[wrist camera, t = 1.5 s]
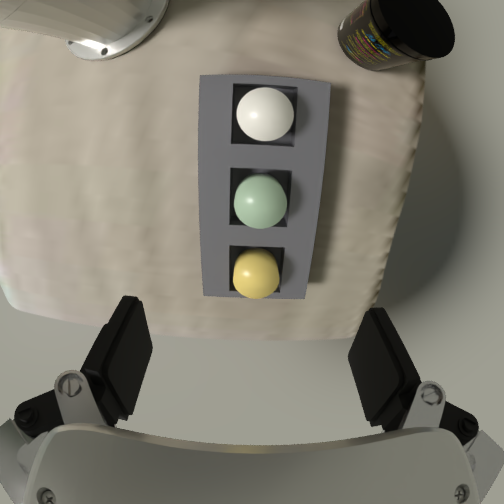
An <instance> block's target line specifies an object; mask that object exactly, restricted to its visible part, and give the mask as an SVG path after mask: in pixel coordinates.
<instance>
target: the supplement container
mask: <svg viewBox="0 0 504 504" xmlns="http://www.w3.org/2000/svg"><path fill="white" fill-rule="evenodd" d="M338 41H339V44H340V46H341V48H342V50H343V52H344V53H345V55H346V56H347V57H348V58H349V59H350V60H351V61H353V62H354V63H355V64H357V65H359V66H361V67H363V68H365V69H368V70H374V71H380V70H384V69H388V68H392V67H396V66H400V65H404V64H409V63H413V62H418V61H426V60H432V59H436V58H441V57H444V56H446V55H448V54H449V53H450V52H451V50H452V49H453V46H454V42H455V33H454V28H453V24H452V22H451V19H450V17H449V15H448V13H447V12H446V10H445V9H444V7H443V6H442V5H441V3H440V2H439V1H438V0H365V1H364V2H362V3H361V4H360V5H359V6H358V7H357V8H356V9H354V10H353V11H352V12H351V13H350V14H349V15H348V16H347V17H346V18H345V19H344V20H343V21H342V22H341V23H340V25H339V28H338Z"/></svg>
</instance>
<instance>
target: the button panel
mask: <svg viewBox="0 0 504 504" xmlns="http://www.w3.org/2000/svg"><path fill="white" fill-rule="evenodd" d="M263 87H267V88H273V89H276V90H278V91H280V92H282V93H283V94H284V95H285V96H286V97H287V98H288V99H289V101H290V102H291V104H292V107H293V111H294V118H293V122H292V125H291V127H290V129H289V130H288V131H287V132H286V133H285V134H284V135H283V136H282V137H280V138H278V139H275V140H272V141H260V140H256V139H253V138H251V137H250V136H248V135H247V134H246V133H245V132H244V131H243V130H242V129H241V127H240V126H239V123H238V120H237V108H238V105H239V102H240V101H241V99H242V98H243V97H244V96H245V95H246V94H247V93H248V92H250V91H252V90H254V89H257V88H263ZM330 88H331V83H328V82H321V81H314V80H307V79H299V78H289V77H278V76H263V75H200V85H199V120H198V186H199V222H200V246H201V265H202V281H203V295H204V296H217V297H240V298H248V297H246V296H243V295H242V294H240V293H239V292H238V291H237V290H236V288H235V286H234V283H233V275H234V266H235V261H236V258H237V257H238V256H239V254H240V253H242V252H243V251H245V250H247V249H250V248H262V249H265V250H267V251H269V252H270V253H272V254H273V256H274V257H275V259H276V261H277V266H278V272H279V284H278V287H277V288H276V290H275V291H274V292H273V293H272V294H270V295H269V296H267V297H264V298H275V299H305V294H306V289H307V283H308V278H309V272H310V266H311V260H312V254H313V247H314V241H315V234H316V228H317V221H318V213H319V206H320V198H321V190H322V182H323V173H324V164H325V154H326V143H327V132H328V119H329V105H330ZM254 173H266V174H269V175H271V176H273V177H274V178H276V179H277V180H278V181H279V183H280V184H281V186H282V188H283V191H284V193H285V195H286V199H287V208H286V212H285V214H284V216H283V218H282V219H281V220H280V221H279V222H278V223H277V224H275V225H273V226H271V227H269V228H264V229H257V228H252V227H249V226H247V225H246V224H244V223H243V222H242V221H241V220H240V219H239V218H238V216H237V214H236V212H235V208H234V199H235V194H236V190H237V187H238V185H239V183H240V182H241V181H242V180H243V179H244V178H245V177H247V176H248V175H251V174H254Z"/></svg>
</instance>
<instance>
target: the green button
mask: <svg viewBox="0 0 504 504" xmlns="http://www.w3.org/2000/svg"><path fill="white" fill-rule="evenodd" d="M234 208H235V212H236V214H237V216H238V218H239V219H240V220H241V221H242V222H243V223H244V224H246V225H247V226H249V227H252V228H257V229H264V228H269V227H271V226H273V225H275V224H277V223H278V222H279V221H280V220H281V219H282V218H283V216H284V214H285V212H286V208H287V199H286V195H285V193H284V191H283V188H282V186H281V184H280V183H279V181H278V180H277V179H276V178H274V177H273V176H271V175H269V174H266V173H254V174H251V175H248V176H247V177H245V178H244V179H243V180H242V181H241V182H240V183H239V185H238V187H237V190H236V194H235V199H234Z"/></svg>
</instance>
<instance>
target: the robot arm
mask: <svg viewBox="0 0 504 504" xmlns="http://www.w3.org/2000/svg"><path fill="white" fill-rule="evenodd" d="M168 3H169V0H0V28H7V29H14V30H21V31H27V32H33V33H38V34H43V35H48V36H52V37H56V38H61V39H65V43H66V45H67V48H68V49H69V50H70V52H71V53H72V54H74V55H75V56H76V57H78V58H81V59H84V60H90V61H102V60H107V59H111V58H114V57H117V56H119V55H121V54H123V53H125V52H127V51H129V50H131V49H132V48H134V47H135V46H136V45H138V44H139V43H141V42H142V41H143V40H144V39H145V38H146V37H147V36H148V35H149V34H150V33H151V32H152V31H153V30H154V29H155V27H156V26H157V25H158V23H159V22H160V20H161V19H162V17H163V16H164V13H165V11H166V9H167V7H168ZM151 20H153V21H152V22H150V21H151ZM107 52H108V53H107ZM152 349H153V347H152V341H151V338H150V334H149V329H148V325H147V321H146V317H145V312H144V308H143V303H142V301H139V299H138V297H134V296H126V295H125V296H123V297H122V299H121V301H120V303H119V304H118V306H117V308H116V309H115V311H114V313H113V315H112V317H111V318H110V320H109V322H108V324H105V325H104V326H103V327H102V329H101V331H100V333H99V335H98V337H97V338H96V340H95V342H94V344H93V346H92V348H91V350H90V352H89V354H88V356H87V358H86V360H85V362H84V364H83V366H82V368H81V370H80V372H79V371H76V370H69V371H65V372H63V373H61V374H60V375H59V376H58V377H57V379H56V381H55V384H54V389H53V390H51V391H49V392H46V393H44V394H42V395H39V396H37V397H34V398H32V399H30V400H27V401H25V402H23V403H21V404H20V405H19V406H18V407H17V409H16V411H15V415H14V420H11V419H9V420H7V421H6V422H5V423H4V424H3V425H1V426H0V483H1V484H2V486H3V488H4V489H5V491H6V492H7V494H8V495H9V497H10V498H11V500H12V501H13V503H14V504H481V502H482V501H483V499H484V497H485V495H486V494H487V493H488V491H489V489H490V488H491V486H492V484H493V483H494V481H495V479H496V477H497V476H498V474H499V472H500V470H501V468H502V466H503V464H504V451H503V450H502V448H500V446H499V445H497V444H496V443H495V442H494V441H493V440H492V439H491V438H490V437H489V436H488V435H487V434H486V433H485V432H484V431H483V430H481V431H478V429H479V426H478V422H477V419H476V418H475V417H474V416H473V415H472V414H470V413H468V412H466V411H464V410H462V409H460V408H458V407H456V406H454V405H453V404H450V403H449V402H447V401H446V395H445V391H444V390H443V388H442V387H441V386H440V385H439V384H438V383H436V382H433V381H425V382H421V380H420V376H419V374H418V372H417V370H416V368H415V366H414V364H413V362H412V360H411V358H410V356H409V354H408V352H407V350H406V348H405V346H404V344H403V342H402V340H401V338H400V336H399V335H398V333H397V331H396V329H395V327H394V325H393V324H392V322H391V320H390V318H389V316H388V314H387V313H386V311H385V309H384V308H370V309H369V311H366V312H365V315H364V317H363V320H362V322H361V325H360V327H359V330H358V332H357V335H356V337H355V339H354V342H353V344H352V347H351V349H350V351H349V354H348V361H349V363H350V367H351V370H352V373H353V376H354V380H355V383H356V386H357V390H358V393H359V396H360V400H361V403H362V407H363V410H364V413H365V417H366V420H367V421H370V424H371V427H373V426H378V425H382V428H383V431H382V433H380V434H375V435H369V436H364V437H358V438H351V439H345V440H338V441H330V442H322V443H321V442H320V443H309V444H296V445H295V444H294V445H263V446H262V445H228V444H215V443H203V442H194V441H186V440H179V439H172V438H166V437H160V436H154V435H149V434H144V433H139V432H134V431H129V430H125V429H120V428H117V426H116V424H117V421H118V419H122V420H126V421H127V419H128V416H129V415H132V414H133V411H134V408H135V405H136V401H137V398H138V394H139V391H140V388H141V385H142V381H143V378H144V375H145V372H146V369H147V366H148V363H149V360H150V357H151V353H152Z"/></svg>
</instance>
